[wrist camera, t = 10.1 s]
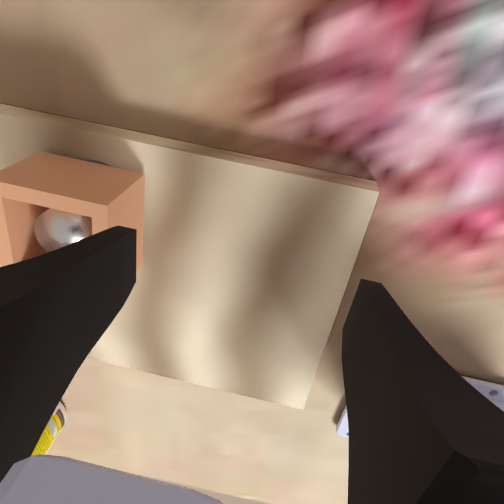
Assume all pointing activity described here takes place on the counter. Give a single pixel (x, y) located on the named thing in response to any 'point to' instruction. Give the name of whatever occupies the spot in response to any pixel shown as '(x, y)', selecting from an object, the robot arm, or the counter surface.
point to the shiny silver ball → (62, 226)
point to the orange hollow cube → (66, 200)
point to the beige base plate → (219, 256)
